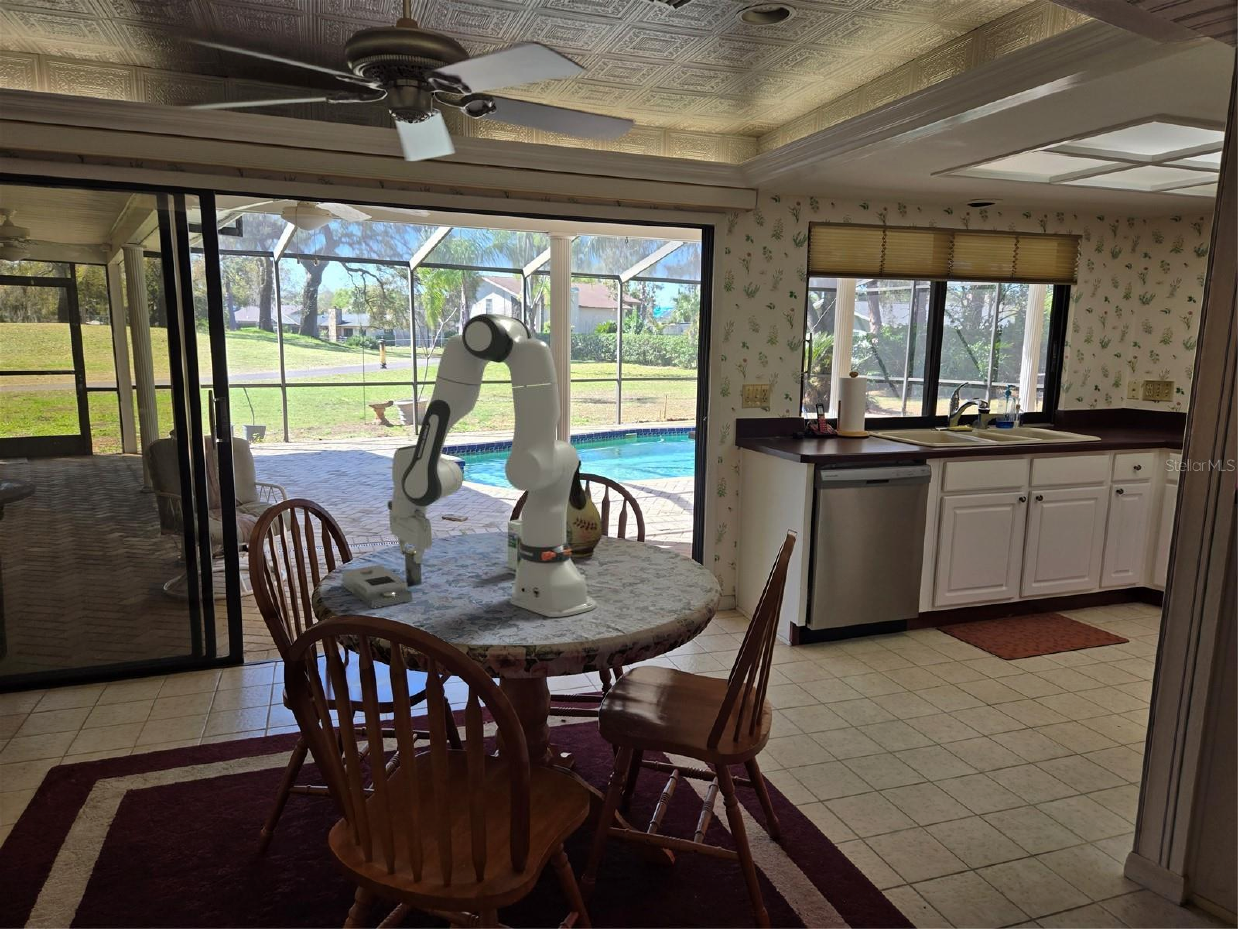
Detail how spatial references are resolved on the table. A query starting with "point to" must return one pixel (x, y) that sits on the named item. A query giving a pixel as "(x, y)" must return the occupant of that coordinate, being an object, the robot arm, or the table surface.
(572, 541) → the ceramic jug
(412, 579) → the pin
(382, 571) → the outer link end
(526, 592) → the robot arm
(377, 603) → the inner link end
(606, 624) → the table surface
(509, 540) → the syrup box
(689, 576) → the table surface
